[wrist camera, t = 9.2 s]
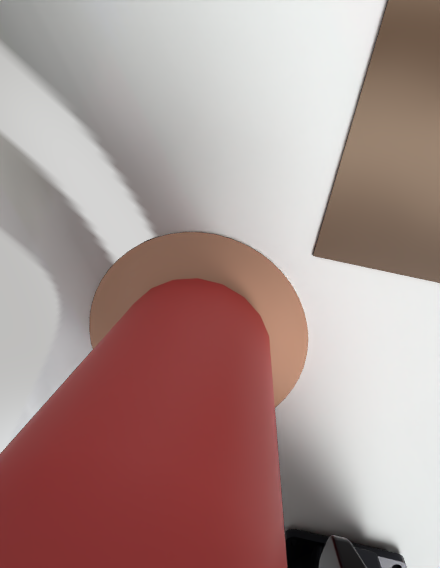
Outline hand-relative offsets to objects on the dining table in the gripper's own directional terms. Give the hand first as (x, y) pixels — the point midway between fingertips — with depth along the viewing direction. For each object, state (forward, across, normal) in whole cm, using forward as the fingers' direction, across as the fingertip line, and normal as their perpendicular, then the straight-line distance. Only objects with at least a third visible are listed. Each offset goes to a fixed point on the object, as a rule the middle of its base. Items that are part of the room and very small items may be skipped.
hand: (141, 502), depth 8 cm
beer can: (+8, 0, 0) cm, 8 cm away
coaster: (+8, 0, 0) cm, 8 cm away
